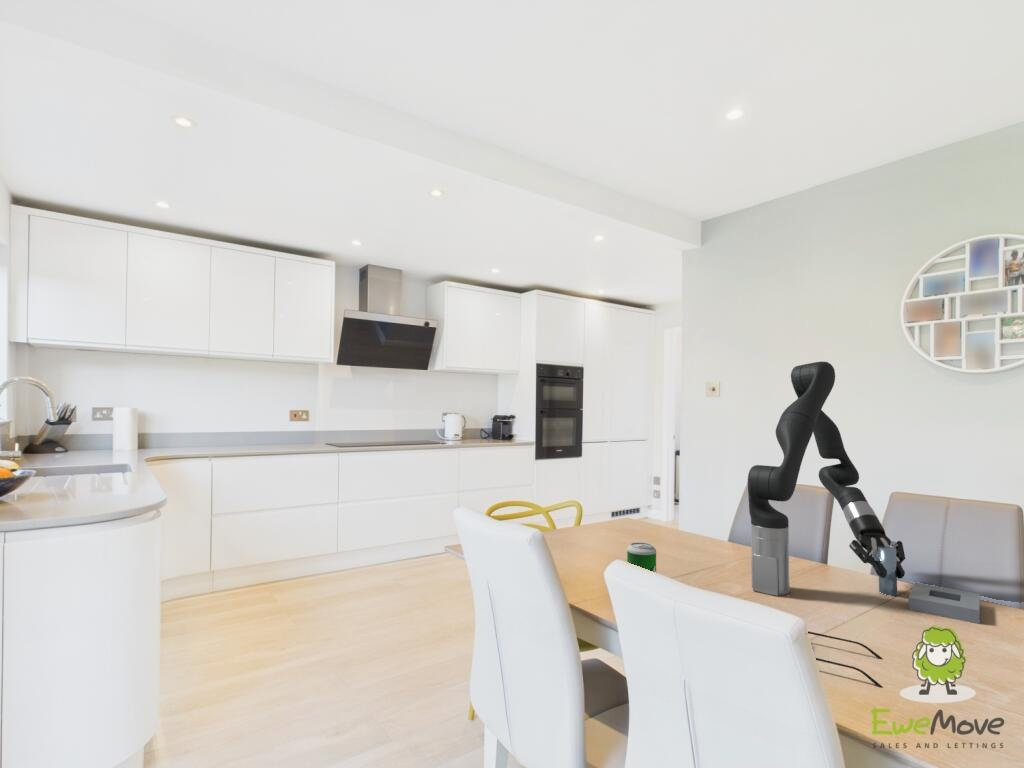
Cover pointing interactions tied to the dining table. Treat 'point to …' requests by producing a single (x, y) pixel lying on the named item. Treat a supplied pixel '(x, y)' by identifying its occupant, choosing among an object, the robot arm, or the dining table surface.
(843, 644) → the dining table surface
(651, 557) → the soda can
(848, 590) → the dining table surface
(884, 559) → the steel pin
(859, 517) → the robot arm
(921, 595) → the socket stand
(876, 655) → the glasses
